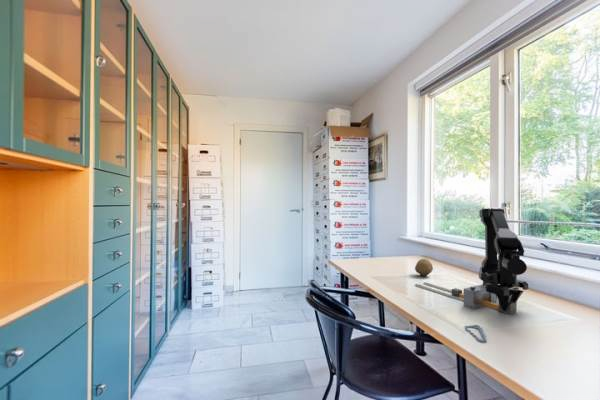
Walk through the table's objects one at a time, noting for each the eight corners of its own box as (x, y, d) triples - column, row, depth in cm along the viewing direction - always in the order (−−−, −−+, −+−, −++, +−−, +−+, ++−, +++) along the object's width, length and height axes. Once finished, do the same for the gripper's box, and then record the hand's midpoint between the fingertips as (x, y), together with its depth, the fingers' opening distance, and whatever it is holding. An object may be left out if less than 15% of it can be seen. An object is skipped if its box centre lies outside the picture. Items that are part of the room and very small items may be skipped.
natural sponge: (436, 278, 153) (436, 260, 153) (419, 278, 153) (419, 260, 153) (428, 274, 162) (428, 257, 162) (413, 274, 162) (413, 257, 162)
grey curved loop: (469, 342, 84) (488, 344, 82) (469, 339, 84) (488, 341, 82) (463, 326, 95) (481, 328, 93) (463, 323, 95) (480, 325, 93)
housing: (429, 282, 144) (429, 268, 144) (496, 302, 116) (496, 284, 116) (407, 287, 137) (407, 271, 137) (473, 309, 108) (473, 289, 108)
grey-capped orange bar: (450, 296, 124) (450, 287, 124) (456, 294, 126) (456, 285, 126) (510, 314, 103) (510, 304, 103) (516, 312, 105) (516, 302, 105)
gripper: (497, 262, 118) (497, 298, 117) (471, 266, 109) (471, 306, 109) (528, 267, 108) (529, 307, 107) (503, 273, 99) (503, 316, 99)
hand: (507, 309), depth 106 cm, fingers closed on grey-capped orange bar, 4 cm apart
